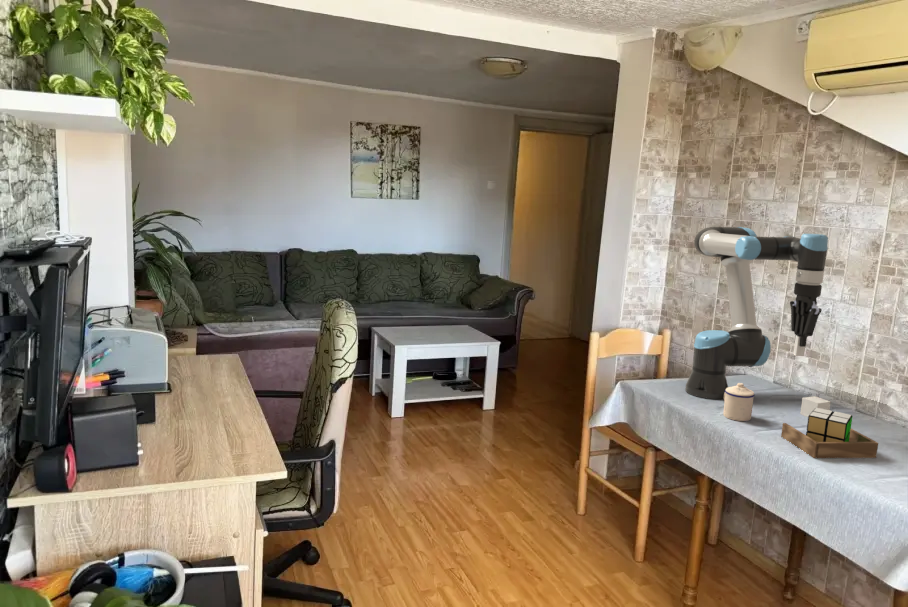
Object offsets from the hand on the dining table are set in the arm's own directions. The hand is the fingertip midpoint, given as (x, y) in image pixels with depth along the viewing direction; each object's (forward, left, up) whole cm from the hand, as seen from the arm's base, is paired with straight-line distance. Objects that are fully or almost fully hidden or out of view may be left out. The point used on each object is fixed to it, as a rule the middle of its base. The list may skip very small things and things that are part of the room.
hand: (798, 355), depth 207 cm
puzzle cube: (+19, 0, -24) cm, 30 cm away
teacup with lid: (-8, -15, -23) cm, 29 cm away
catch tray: (+19, 0, -23) cm, 30 cm away
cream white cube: (-7, +13, -24) cm, 28 cm away
